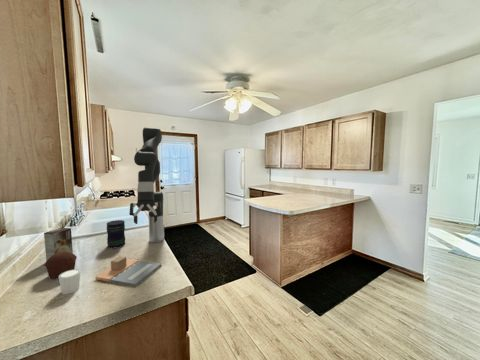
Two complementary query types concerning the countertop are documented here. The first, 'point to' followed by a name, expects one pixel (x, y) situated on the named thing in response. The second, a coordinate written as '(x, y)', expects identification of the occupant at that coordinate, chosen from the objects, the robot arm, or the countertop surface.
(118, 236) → the storage jar
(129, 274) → the board
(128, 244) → the countertop surface
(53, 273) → the muffin
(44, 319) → the countertop surface
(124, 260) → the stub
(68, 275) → the shot glass
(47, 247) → the coffee box
